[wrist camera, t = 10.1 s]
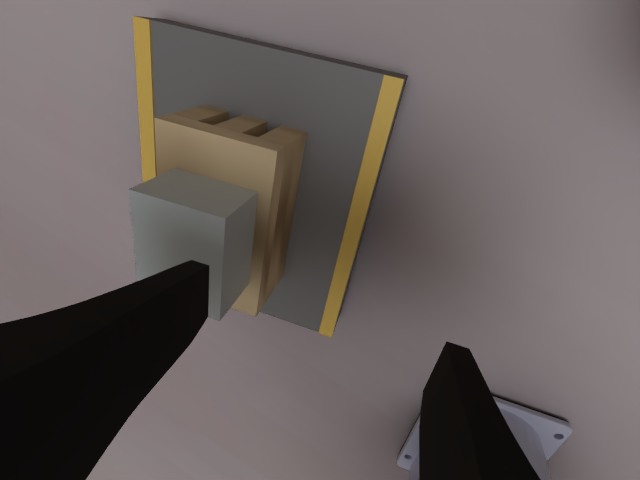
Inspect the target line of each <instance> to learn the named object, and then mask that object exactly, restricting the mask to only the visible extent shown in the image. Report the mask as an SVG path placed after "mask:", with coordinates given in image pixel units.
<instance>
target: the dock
mask: <svg viewBox="0 0 640 480" xmlns="http://www.w3.org/2000/svg"><path fill="white" fill-rule="evenodd" d="M133 27H134V43H135V60H136V76H137V93H138V109H139V125H140V142H141V158H142V174H143V182H146V181H148V180H150V179H152V178H154V177H156V176H157V169H156V145H155V121H154V118H155V117H159V116H163V115H167V114H171V113H175V112H179V111H183V110H187V109H191V108H195V107H199V106H203V105H207V106H211V107H215V108H219V109H223V110H226V111H229V116H228V120H230V119H232V118H235V117H238V116H241V115H245V116H249V117H253V118H257V119H261V120H264V121H267V129H266V133H267V132H269V131H271V130H273V129H275V128H277V127H279V126H281V125H283V126H287V127H291V128H295V129H299V130H302V131H306V132H307V135H306V141H305V147H304V153H303V159H302V165H301V171H300V177H299V183H298V189H297V195H296V201H295V207H294V213H293V219H292V225H291V231H290V237H289V243H288V249H287V255H286V261H285V267H284V273H283V277H282V278H281V280H280V281H279V283H278V284H277V286H276V287H275V289H274V290H273V292H272V293H271V295H270V296H269V298H268V299H267V301H266V302H265V304H264V305H263V307H262V309H261V310H260V312H263V313H265V314H268V315H271V316H274V317H277V318H280V319H283V320H286V321H289V322H291V323H294V324H297V325H300V326H303V327H306V328H309V329H312V330H315V331H317V332H319V333H320V334H322V335H325V336H328V337H331V338H332V335H333V332H334V329H335V327H336V324H337V321H338V318H339V315H340V312H341V308H342V305H343V301H344V298H345V294H346V291H347V287H348V284H349V280H350V277H351V273H352V270H353V266H354V263H355V259H356V256H357V252H358V249H359V245H360V242H361V238H362V235H363V231H364V228H365V224H366V221H367V217H368V214H369V210H370V207H371V203H372V200H373V196H374V193H375V189H376V185H377V182H378V178H379V175H380V171H381V168H382V164H383V161H384V157H385V154H386V150H387V147H388V143H389V140H390V136H391V133H392V129H393V126H394V122H395V119H396V115H397V112H398V108H399V105H400V101H401V98H402V94H403V91H404V87H405V84H406V80H407V77H408V76H406V75H402V74H398V73H393V72H389V71H385V70H381V69H376V68H372V67H368V66H363V65H359V64H355V63H350V62H346V61H342V60H337V59H333V58H329V57H325V56H320V55H316V54H312V53H307V52H303V51H299V50H294V49H290V48H286V47H282V46H277V45H273V44H269V43H264V42H260V41H256V40H251V39H247V38H243V37H239V36H234V35H230V34H226V33H221V32H217V31H213V30H208V29H204V28H200V27H195V26H191V25H187V24H183V23H178V22H174V21H170V20H165V19H158V18H148V17H138V16H133Z"/></svg>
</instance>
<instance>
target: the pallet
mask: <svg viewBox="0 0 640 480" xmlns="http://www.w3.org/2000/svg"><path fill="white" fill-rule="evenodd" d="M228 116H229V111H226V110H223V109H219V108H215V107H211V106H207V105H203V106H199V107H195V108H191V109H187V110H183V111H179V112H175V113H171V114H167V115H163V116H159V117H155V118H154V121H155V145H156V169H157V176H159V175H161V174H163V173H165V172H167V171H169V170H171V169H174V168H177V169H181V170H184V171H188V172H191V173H195V174H198V175H202V176H205V177H209V178H212V179H216V180H219V181H223V182H226V183H230V184H233V185H237V186H240V187H243V188H247V189H250V190H254V191H257V192H258V200H257V209H256V219H255V229H254V239H253V249H252V258H251V268H250V278H249V284H248V286H247V287H246V288H245V290H244V291H243V292H242V293H241V295H240V296H239V297H238V299H237V300H236V301H235V302H234V304H233V305H232V306H231V307H230V308H232V309H235V310H238V311H240V312H243V313H246V314H249V315H252V316H255V317H256V316H257V315H258V313H259V312H260V310H261V309H262V307H263V305H264V304H265V302H266V301H267V299H268V298H269V296H270V295H271V293H272V292H273V290H274V289H275V287H276V286H277V284H278V283H279V281H280V280H281V278H282V277H283V273H284V267H285V261H286V255H287V249H288V243H289V237H290V231H291V225H292V219H293V213H294V207H295V201H296V195H297V189H298V183H299V177H300V171H301V165H302V159H303V153H304V147H305V141H306V135H307V132H306V131H302V130H299V129H295V128H291V127H287V126H283V125H281V126H279V127H277V128H275V129H273V130H271V131H269V132H267V133H266V129H267V121H264V120H261V119H257V118H253V117H249V116H245V115H241V116H238V117H235V118H232V119H230V120H228Z"/></svg>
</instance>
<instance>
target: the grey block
mask: <svg viewBox="0 0 640 480" xmlns="http://www.w3.org/2000/svg"><path fill="white" fill-rule="evenodd" d="M129 198H130V209H131V220H132V231H133V242H134V253H135V264H136V275H137V281H140V280H142V279H144V278H147V277H149V276H152V275H154V274H157V273H159V272H162V271H164V270H167V269H169V268H171V267H174V266H176V265H179V264H181V263H184V262H187V261H190V260H194V261H197V262H200V263H203V264H206V265H209V305H208V317H210V318H212V319H215V320H218V321H220V320H221V319H222V318H223V316H224V315H225V314H226V313H227V311H228V310H229V309H230V307H231V306H232V305H233V304H234V302H235V301H236V300H237V299H238V297H239V296H240V295H241V293H242V292H243V291H244V290H245V288H246V287H247V286H248V284H249V278H250V268H251V258H252V249H253V239H254V229H255V219H256V209H257V200H258V192H257V191H254V190H250V189H247V188H243V187H240V186H237V185H233V184H230V183H226V182H223V181H219V180H216V179H212V178H209V177H205V176H202V175H198V174H195V173H191V172H188V171H184V170H181V169H177V168H174V169H171V170H169V171H167V172H165V173H163V174H161V175H159V176H156V177H154V178H152V179H150V180H148V181H146V182H143V183H141V184H139V185H137V186H135V187H133V188H131V189H129Z"/></svg>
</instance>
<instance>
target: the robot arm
mask: <svg viewBox="0 0 640 480" xmlns="http://www.w3.org/2000/svg"><path fill="white" fill-rule="evenodd" d="M208 305H209V265H206V264H203V263H200V262H197V261H194V260H190V261H187V262H184V263H181V264H179V265H176V266H174V267H171V268H169V269H167V270H164V271H162V272H159V273H157V274H154V275H152V276H149V277H147V278H144V279H142V280H140V281H137V282H135V283H132V284H130V285H127V286H125V287H122V288H119V289H116V290H114V291H111V292H108V293H105V294H103V295H100V296H97V297H94V298H91V299H89V300H86V301H83V302H80V303H77V304H74V305H70V306H67V307H64V308H61V309H57V310H54V311H50V312H46V313H43V314H39V315H36V316H32V317H28V318H24V319H19V320H15V321H10V322H6V323H2V324H0V480H86V478H87V477H88V475H89V474H90V472H91V471H92V469H93V468H94V466H95V465H96V463H97V462H98V460H99V459H100V457H101V456H102V454H103V453H104V452H105V450H106V449H107V447H108V446H109V444H110V443H111V441H112V440H113V439H114V437H115V436H116V434H117V433H118V432H119V430H120V429H121V427H122V426H123V425H124V423H125V422H126V420H127V419H128V417H129V416H130V415H131V414H132V412H133V411H134V410H135V409H136V407H137V406H138V405H139V404H140V402H141V401H142V400H143V399H144V398H145V397H146V395H147V394H148V393H149V392H150V391H151V390H152V388H153V387H154V386H155V385H156V384H157V383H158V381H159V380H160V379H161V378H162V377H163V376H164V374H165V373H166V372H167V371H168V370H169V369H170V367H171V366H172V365H173V364H174V363H175V361H176V360H177V359H178V358H179V357H180V356H181V354H182V353H183V352H184V351H185V350H186V348H187V347H188V346H189V345H190V344H191V342H192V341H193V339H194V338H195V336H196V335H197V333H198V332H199V330H200V328H201V327H202V325H203V324H204V322H205V321H206V319H207V317H208ZM572 432H573V431H572V428H571V425H570V424H569V423H568V422H566V421H563V420H560V419H557V418H554V417H551V416H548V415H546V414H543V413H540V412H537V411H534V410H531V409H528V408H525V407H523V406H520V405H517V404H514V403H511V402H508V401H505V400H502V399H499V398H497V397H494V396H492V394H491V392H490V390H489V388H488V386H487V384H486V382H485V380H484V378H483V376H482V374H481V372H480V370H479V368H478V365H477V363H476V361H475V359H474V357H473V355H472V353H471V351H470V349H468V348H465V347H462V346H459V345H456V344H453V343H449V342H446V344H445V346H444V348H443V350H442V352H441V354H440V357H439V359H438V361H437V363H436V365H435V367H434V369H433V371H432V373H431V375H430V378H429V380H428V382H427V384H426V386H425V388H424V390H423V398H422V406H421V414H420V416H419V418H418V420H417V421H416V423H415V425H414V427H413V429H412V431H411V433H410V435H409V437H408V438H407V440H406V442H405V444H404V446H403V448H402V450H401V452H400V454H399V455H398V457H397V464H398V465H399V466H400V467H401V468H404V469H406V470H409V471H410V472H409V480H552V479H551V476H550V472H549V468H548V464H547V461H548V459H549V458H550V457H551V456H552V455H553V454H554V453H555V452H556V451H557V449H558V448H559V447H560V446H561V445H562V444H563V443H564V442H565V441H566V440H567V438H568V437H569V436H570V435H571V434H572Z"/></svg>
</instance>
